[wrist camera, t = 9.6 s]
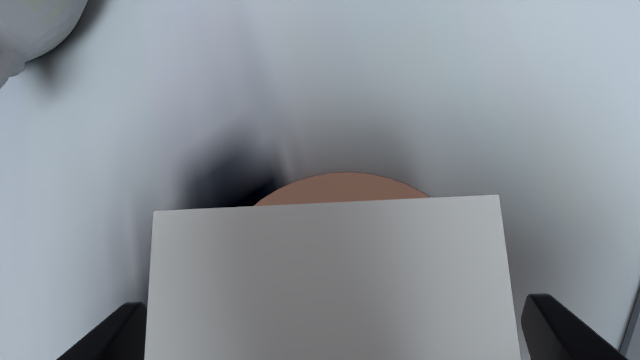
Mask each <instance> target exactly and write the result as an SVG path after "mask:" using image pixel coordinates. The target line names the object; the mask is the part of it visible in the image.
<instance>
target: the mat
mask: <svg viewBox="0 0 640 360" xmlns="http://www.w3.org/2000/svg"><path fill="white" fill-rule="evenodd" d="M620 353H621V354H622V355H624V356H625V357H626V358H627V359H629V360H640V291H639V294H638V297H637V300H636V303H635V306H634V309H633V313H632V316H631V319H630V322H629V325H628V328H627V331H626V334H625V337H624V340H623V343H622V347H621V350H620Z"/></svg>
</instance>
